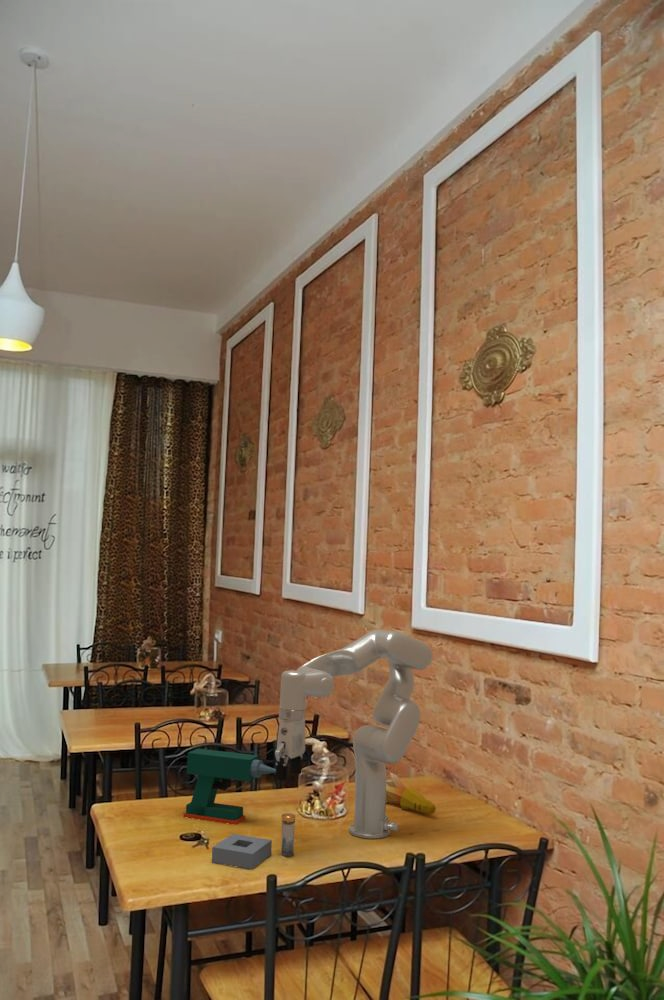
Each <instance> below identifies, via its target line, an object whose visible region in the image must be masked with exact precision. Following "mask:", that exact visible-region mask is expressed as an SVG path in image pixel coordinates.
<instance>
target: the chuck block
mask: <svg viewBox="0 0 664 1000" xmlns="http://www.w3.org/2000/svg"><path fill="white" fill-rule="evenodd" d="M272 842H273V840H272V839H268V838H262V837H258V836H257V837H255V836H250V835H243V834H236V833H232V834H230V835H228V836H227V837H226V838H224V839H223V840H221V841H219V842H218V843H216V844H215V845H213V846H212V849H211V863H212V862H213V863H212V864H217V863H218V864H217V865H223V864H226V865H225V866H229V865H232V866H231V867H234V866H237V867H236V868H240V867H241V869H246V870H250V871H251V870H253V869H255V868H256V867H257V866H259V865H260V864H261V863H263V862H264V861H265V860H267V859H268V858H269V857H270V856H271V855H272V845H273V844H272ZM262 861H263V862H262ZM258 864H259V865H258Z"/></svg>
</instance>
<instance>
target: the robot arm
mask: <svg viewBox="0 0 664 1000" xmlns="http://www.w3.org/2000/svg"><path fill="white" fill-rule="evenodd" d="M433 658H434V657H433V652H432V649H431V647H430V646H429V645H428V644H427V643H425V642H423V641H420V640H418V639H416V638H414V637H411V636H408V635H406V634H403V633H401V632H398V631H395V630H389V629H388V630H386V629H373V630H371V631H369V632H367V633H366V634H364V635H363V636H361V637H359V638H358V639H356V640H355V641H353V642H352V643H350V644H348V645H347V646H344V647H342V648H339V649H336V650H333V651H331V652H327V653H325V654H322V655H319V656H317V657H315V658H311V659H310V660H309V661H307V662H305V663H304V664H302V665H301V666H299V667H298V668H297V669H296V670H294V669H293V670H291V669H290V670H285V671H283V672H282V673H281V677H280V690H279V691H280V692H279V695H280V696H279V710H278V721H279V726H278V732H277V741H276V750H275V752H274V756H275V759H274V760H275V766H276V767H275V769H276V773H275V780H276V781H280V782H281V781H282V782H286V781H287V780H288V779H287V778H288V762H289V760H290V773H291V774H298V775H300V774H302V768H303V767H302V764H303V754H304V753H305V752H306V709H307V697H314V698H324V697H327V696H330V695H331V694H332V692H333V691H334V689H335V685H336V684H335V680H334V679H335V678H334V677H337V676H338V677H339V676H349V675H350V676H351V675H354V674H358V673H360V672H361V671H363V670H364V669H366V668H368V667H369V666H370V665H372V664H373V663H375V662H377V661H378V660H380V659H386V660H387V663H388V668H389V677H388V680H387V682H386V684H385V686H384V688H383V690H382V692H381V694H380V696H379V698H378V700H377V702H376V703H375V705H374V708H373V711H372V715H373V717H372V718H373V720H374V721H375V722H376V723H378V724H379V725H381V726H384V727H388V728H387V729H386V728H384V727H380V726H376V725H374V724H373V725H371V724H367V725H362V726H360V727H359V728H357V730H356V731H355V733H354V735H353V739H352V740H353V741H352V746H353V753H354V760H355V761H354V762H355V778H354V780H355V782H354V783H355V786H354V820H353V823H351V824H350V825H349V826H348V832H349V833H350V834H351V835H353V836H355V837H358V838H362V839H382V838H385V837H387V836H390V834H391V831H393V832H399V829H400V825H399V824H398V822H397V821H396V822H395V821H390V820H389V816H387V813H386V809H387V808H386V806H387V802H386V786H387V783H386V781H388V780H387V767H386V764H388V765H394V764H396V763H398V762H400V760H401V759H402V758H403V757H404V755H405V753H407V749H408V747H409V746H410V744H411V741H412V739H414V736H415V734H416V732H417V730H418V728H419V725H420V722H421V710H420V707H419V705H418V703H416V702H415V701H413V700H411V696H412V694H413V692H414V690H415V678H414V673H413V670H415V671H421V670H425V669H427V668H428V667H429V666H431V664H432V661H433Z"/></svg>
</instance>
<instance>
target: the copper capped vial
mask: <svg viewBox="0 0 664 1000" xmlns="http://www.w3.org/2000/svg"><path fill="white" fill-rule="evenodd" d="M295 823H296V814H294V813H291V812H290V813H289V812H288V813H282V814H281V824H282V825H281V846H280V847H281V849H280V850H281V851H280V856H281V857H285V858H290V857H293V856H294V854H295V853H294V851H295V849H294V848H295V847H294V846H295Z"/></svg>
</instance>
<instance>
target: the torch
mask: <svg viewBox="0 0 664 1000" xmlns="http://www.w3.org/2000/svg"><path fill="white" fill-rule="evenodd" d="M389 773H390V777H391V779H392V780H386V801H387V802H386V803H388V802H390V803H389V804H391V803H393V805H400V807H401V810H404V809H407V810H408V811H415V812H419V813H420V814H423V813H424V814H425V815H431V814H434V813H435V812H436V809H437V808H436V805H435V804H434V803H433V802H431V801H430V800H428V799H427V798H425V796H424V795H422V794H421V793H420V792H419V791H417V790H416V789H414V787H412V786H409V787H406V786H405V785H404V783H403V782H402V780H401V779H400V777H399V776H398V775H396V774H394V773H393V772H389Z"/></svg>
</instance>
